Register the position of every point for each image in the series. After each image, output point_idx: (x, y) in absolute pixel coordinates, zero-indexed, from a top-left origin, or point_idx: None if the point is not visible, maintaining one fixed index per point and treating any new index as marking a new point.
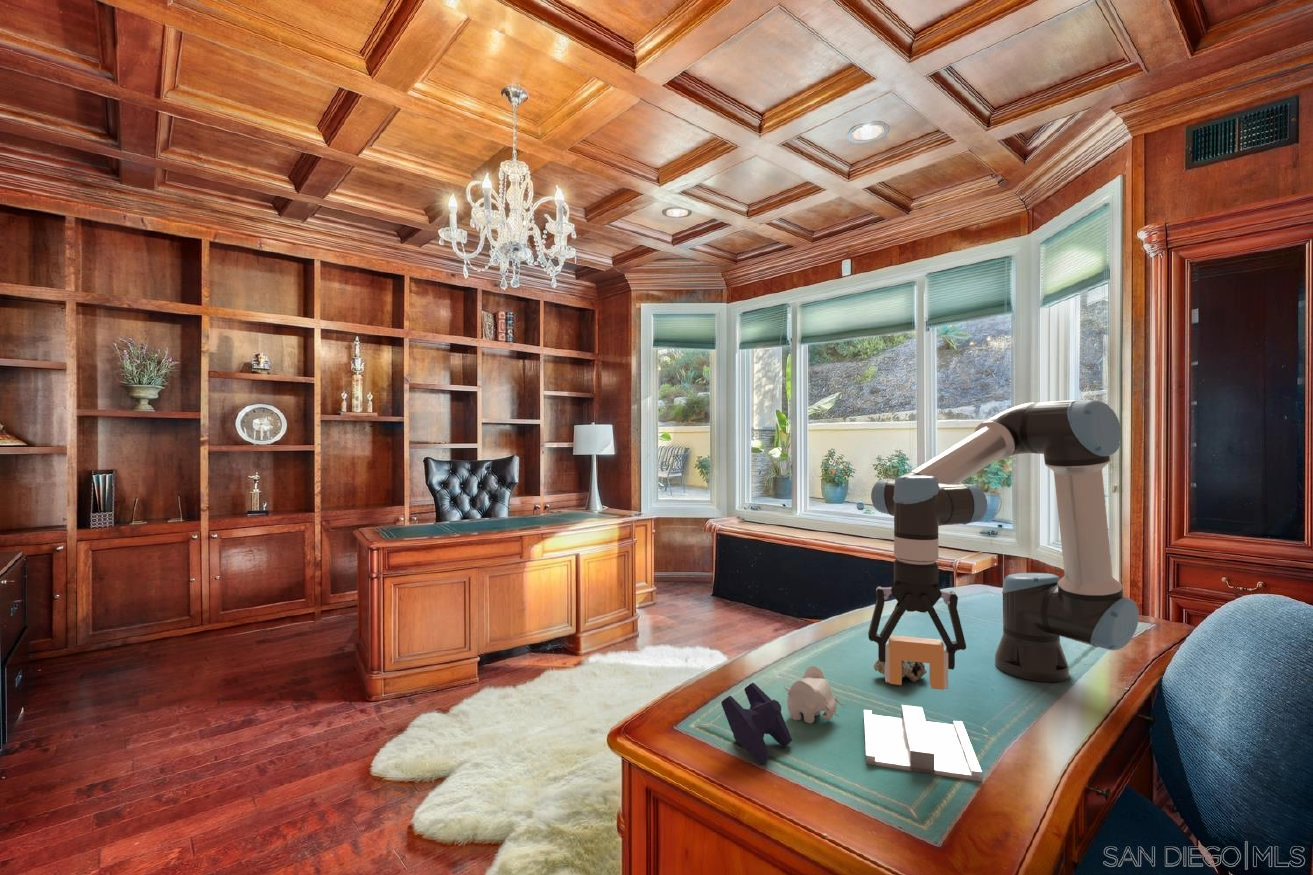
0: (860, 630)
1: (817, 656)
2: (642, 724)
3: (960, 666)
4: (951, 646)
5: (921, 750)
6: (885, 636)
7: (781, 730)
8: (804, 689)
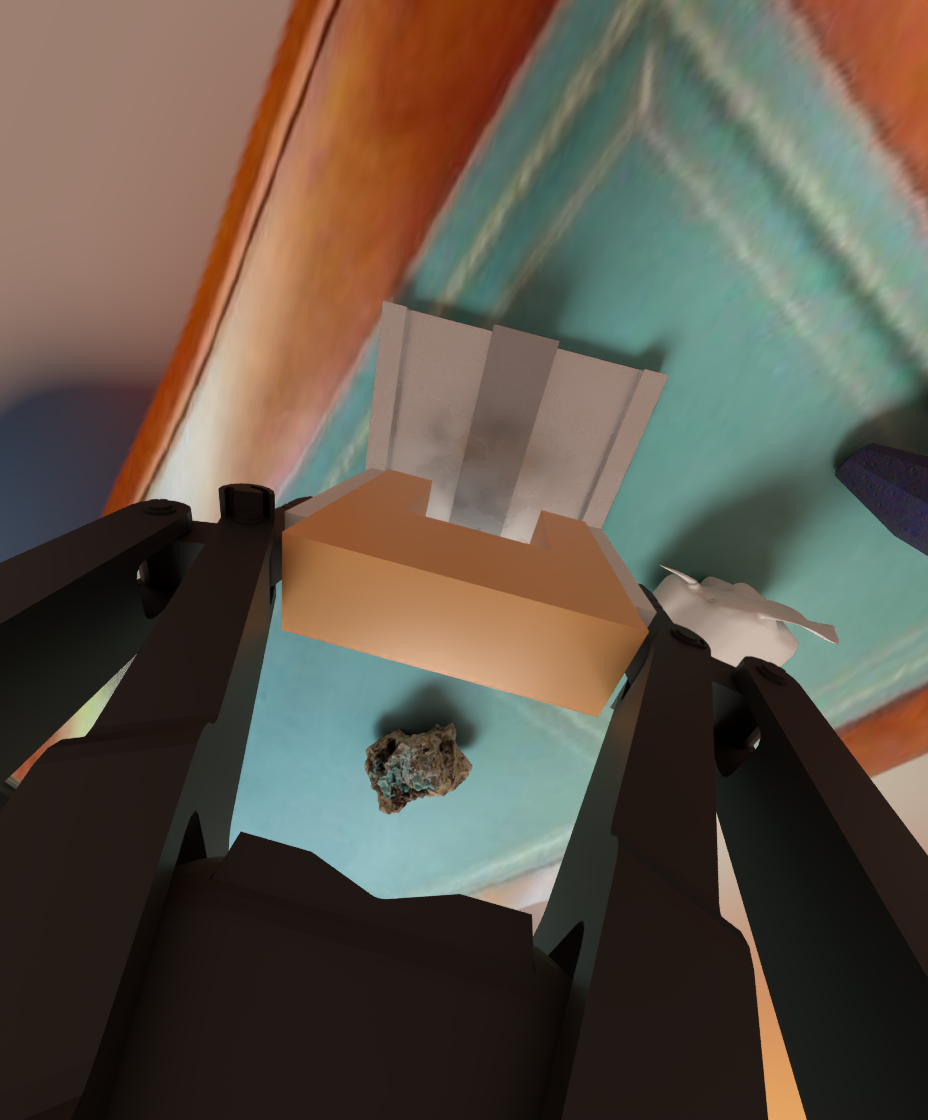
0: (434, 891)
1: (554, 826)
2: None
3: (298, 771)
4: (236, 525)
5: (525, 343)
6: (684, 661)
7: (916, 460)
8: (799, 618)
